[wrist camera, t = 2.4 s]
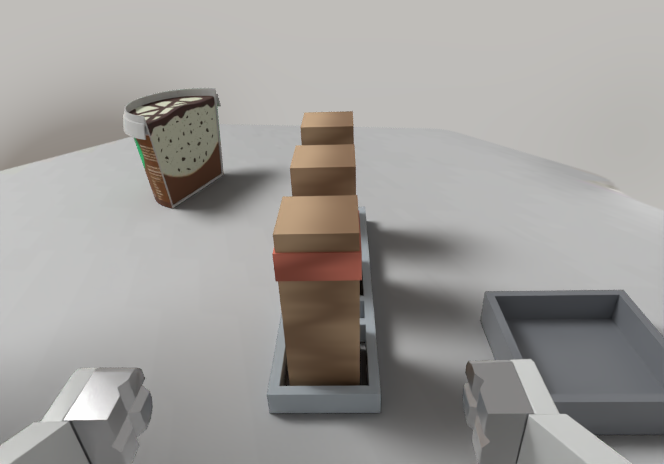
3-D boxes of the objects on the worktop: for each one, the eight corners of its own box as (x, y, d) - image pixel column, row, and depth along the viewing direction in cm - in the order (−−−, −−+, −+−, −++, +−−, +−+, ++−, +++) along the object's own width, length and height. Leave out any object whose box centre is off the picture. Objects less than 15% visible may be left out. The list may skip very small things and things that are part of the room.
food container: (189, 164, 60) (174, 84, 55) (230, 170, 57) (218, 87, 52) (117, 205, 50) (89, 112, 45) (163, 214, 48) (139, 118, 43)
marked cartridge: (289, 399, 27) (270, 235, 22) (295, 347, 31) (280, 196, 25) (361, 398, 27) (361, 234, 21) (359, 346, 31) (359, 194, 25)
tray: (523, 434, 24) (532, 402, 23) (480, 320, 32) (485, 291, 31) (699, 434, 24) (718, 401, 23) (613, 319, 32) (623, 289, 31)
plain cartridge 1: (308, 250, 41) (300, 127, 35) (311, 227, 44) (304, 112, 39) (354, 249, 41) (353, 126, 35) (353, 226, 44) (352, 111, 39)
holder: (269, 413, 26) (266, 394, 25) (301, 221, 45) (299, 208, 45) (380, 412, 26) (380, 394, 25) (364, 220, 45) (365, 206, 44)
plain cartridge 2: (301, 308, 34) (289, 168, 29) (305, 276, 37) (295, 145, 32) (356, 308, 34) (355, 166, 28) (355, 275, 37) (354, 144, 32)
